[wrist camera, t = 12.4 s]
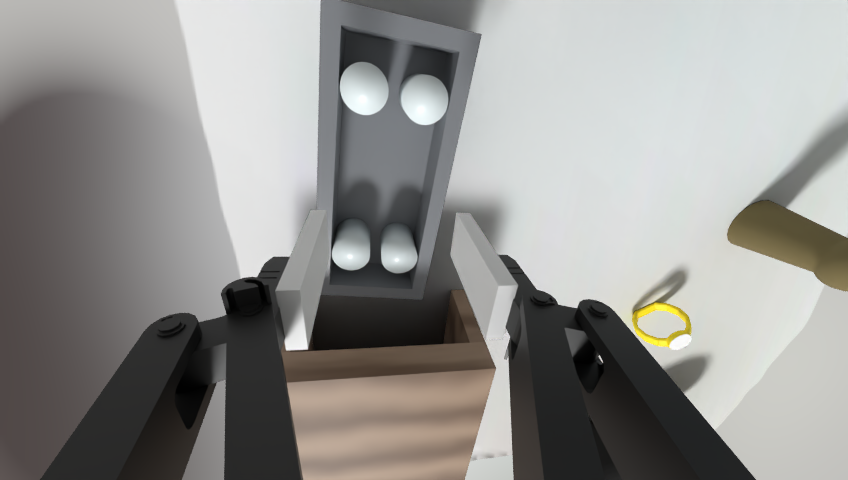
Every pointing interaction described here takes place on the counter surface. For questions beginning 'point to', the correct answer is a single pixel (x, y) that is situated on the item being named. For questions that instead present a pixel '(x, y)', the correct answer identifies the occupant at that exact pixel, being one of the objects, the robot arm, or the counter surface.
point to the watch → (676, 338)
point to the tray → (386, 143)
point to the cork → (792, 241)
